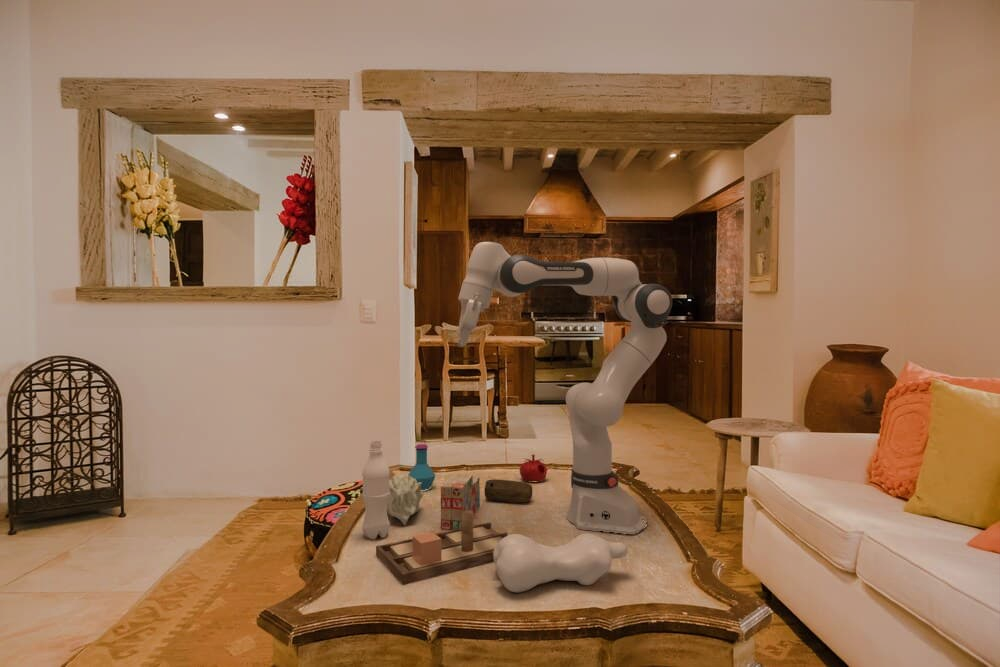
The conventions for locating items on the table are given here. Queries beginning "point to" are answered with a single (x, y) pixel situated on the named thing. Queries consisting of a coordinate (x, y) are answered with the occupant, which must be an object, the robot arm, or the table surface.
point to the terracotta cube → (427, 548)
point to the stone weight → (508, 491)
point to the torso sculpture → (553, 560)
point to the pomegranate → (533, 470)
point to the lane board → (415, 575)
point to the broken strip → (452, 538)
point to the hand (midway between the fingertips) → (461, 346)
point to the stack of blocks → (458, 499)
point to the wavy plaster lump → (404, 497)
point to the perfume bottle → (422, 468)
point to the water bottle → (376, 493)
